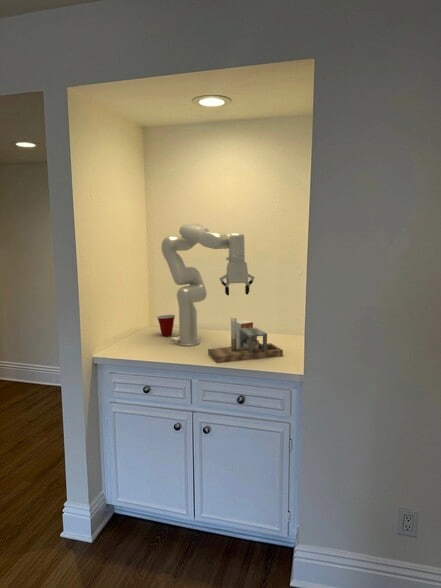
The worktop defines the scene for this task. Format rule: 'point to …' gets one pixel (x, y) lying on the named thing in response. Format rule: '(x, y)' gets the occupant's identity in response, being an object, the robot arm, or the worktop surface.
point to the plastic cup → (166, 324)
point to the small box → (241, 326)
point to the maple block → (255, 344)
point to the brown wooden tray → (238, 355)
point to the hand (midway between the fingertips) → (237, 294)
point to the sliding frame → (233, 338)
